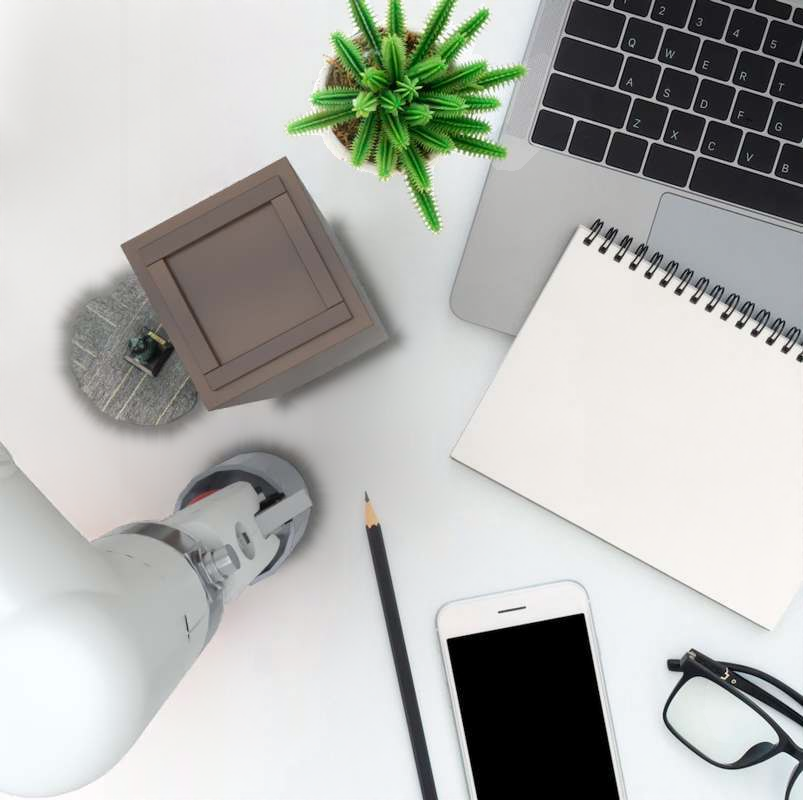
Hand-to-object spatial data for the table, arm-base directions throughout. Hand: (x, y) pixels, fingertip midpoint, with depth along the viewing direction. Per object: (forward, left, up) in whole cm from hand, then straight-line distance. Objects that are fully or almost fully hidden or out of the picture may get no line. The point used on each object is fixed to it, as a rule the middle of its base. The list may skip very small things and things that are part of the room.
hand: (224, 529), depth 58 cm
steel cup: (0, 0, -11) cm, 11 cm away
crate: (-12, +11, -11) cm, 20 cm away
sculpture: (-15, -2, -11) cm, 19 cm away
